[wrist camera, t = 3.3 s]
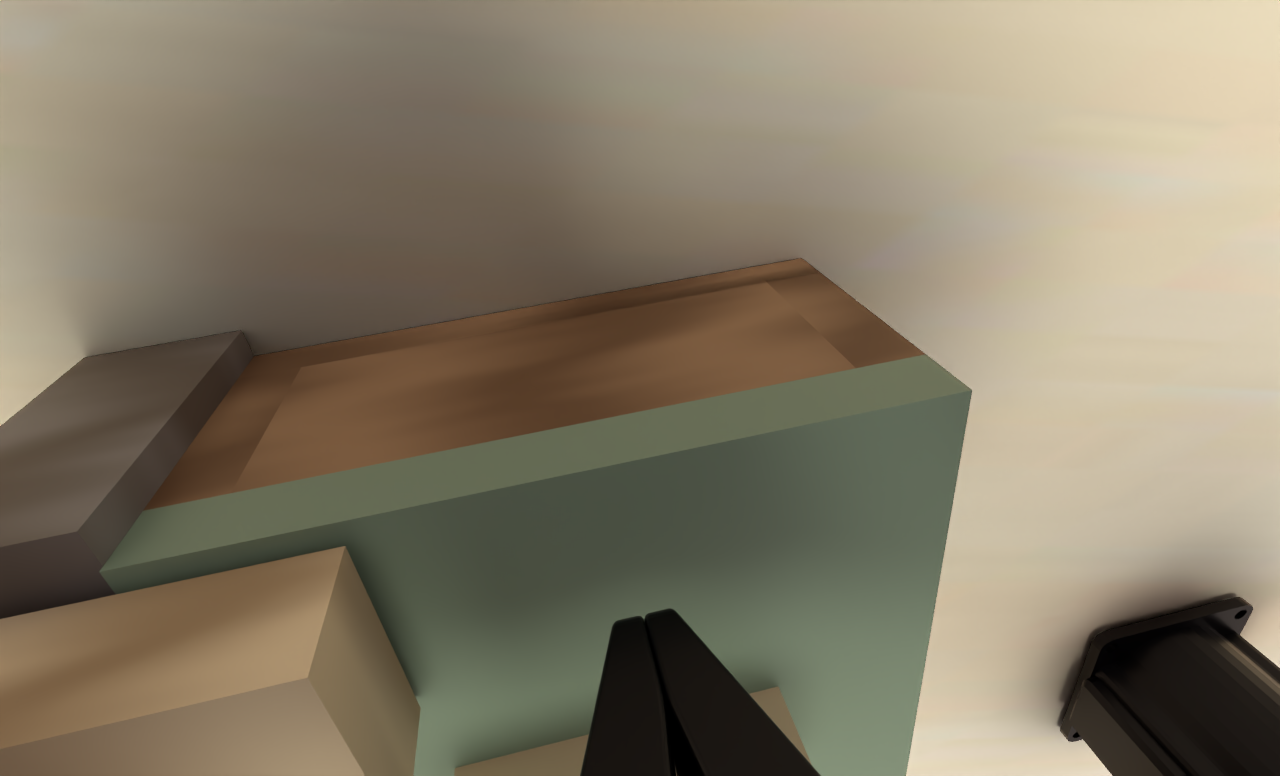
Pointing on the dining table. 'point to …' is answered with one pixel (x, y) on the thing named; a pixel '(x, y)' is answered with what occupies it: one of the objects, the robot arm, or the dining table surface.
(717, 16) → the dining table surface
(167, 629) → the wooden block
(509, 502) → the lid
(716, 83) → the dining table surface
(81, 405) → the toolbox
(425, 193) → the dining table surface
